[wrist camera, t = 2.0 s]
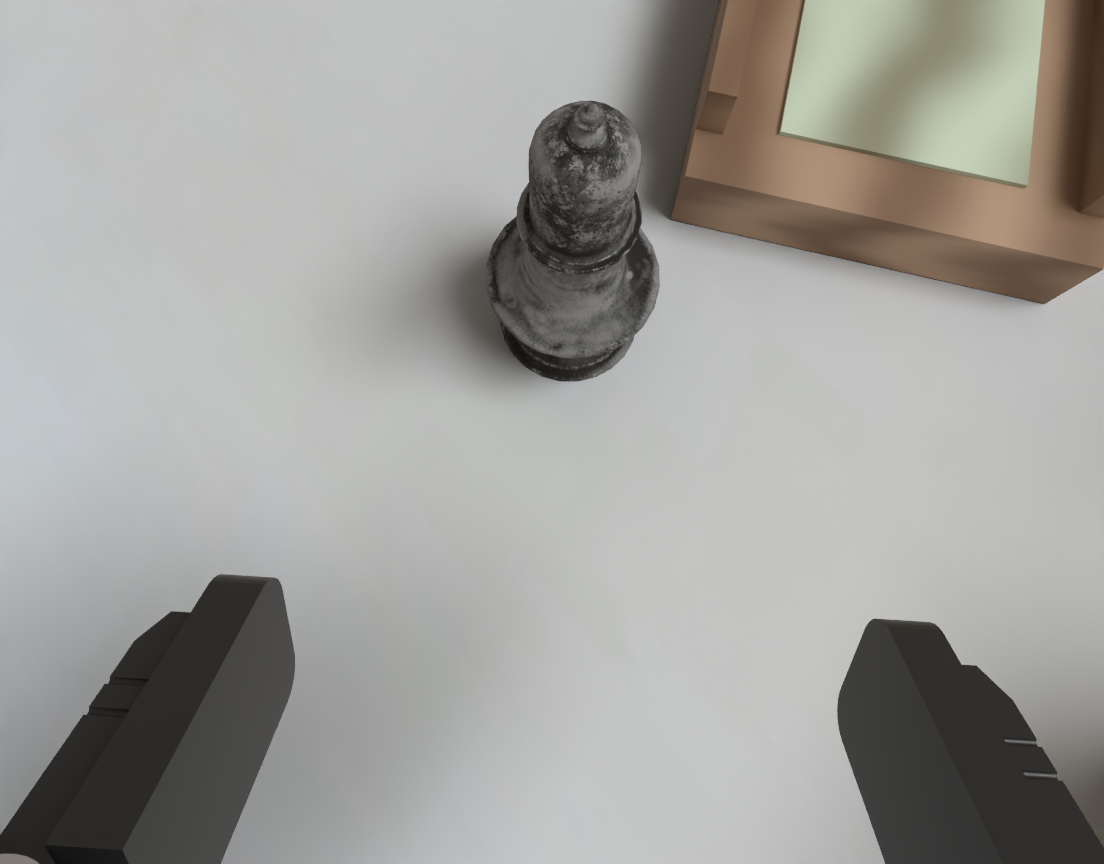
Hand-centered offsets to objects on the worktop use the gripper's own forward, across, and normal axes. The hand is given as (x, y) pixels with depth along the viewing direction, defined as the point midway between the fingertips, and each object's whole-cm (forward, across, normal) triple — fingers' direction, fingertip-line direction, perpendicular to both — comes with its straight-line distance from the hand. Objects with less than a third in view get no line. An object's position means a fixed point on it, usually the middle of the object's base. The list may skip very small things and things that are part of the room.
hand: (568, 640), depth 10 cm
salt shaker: (+19, 0, +3) cm, 19 cm away
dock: (+26, -12, -4) cm, 29 cm away
